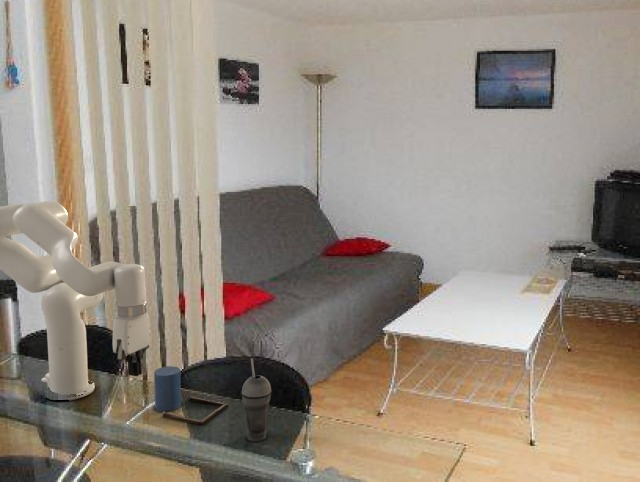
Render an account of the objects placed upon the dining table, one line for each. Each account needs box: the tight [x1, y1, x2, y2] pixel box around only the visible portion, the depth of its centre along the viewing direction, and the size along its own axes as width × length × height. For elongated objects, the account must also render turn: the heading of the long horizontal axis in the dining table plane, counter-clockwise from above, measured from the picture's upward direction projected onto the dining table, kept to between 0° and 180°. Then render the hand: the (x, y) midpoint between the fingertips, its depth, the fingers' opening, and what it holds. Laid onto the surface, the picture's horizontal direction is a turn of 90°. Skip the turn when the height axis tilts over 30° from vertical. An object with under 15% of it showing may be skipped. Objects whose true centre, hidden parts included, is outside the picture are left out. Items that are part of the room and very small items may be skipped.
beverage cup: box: [240, 357, 273, 442], centre depth 148 cm, size 7×7×20 cm
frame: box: [162, 396, 229, 426], centre depth 161 cm, size 12×12×1 cm
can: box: [153, 365, 182, 412], centre depth 163 cm, size 7×7×10 cm
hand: (135, 374), depth 166 cm, fingers closed
